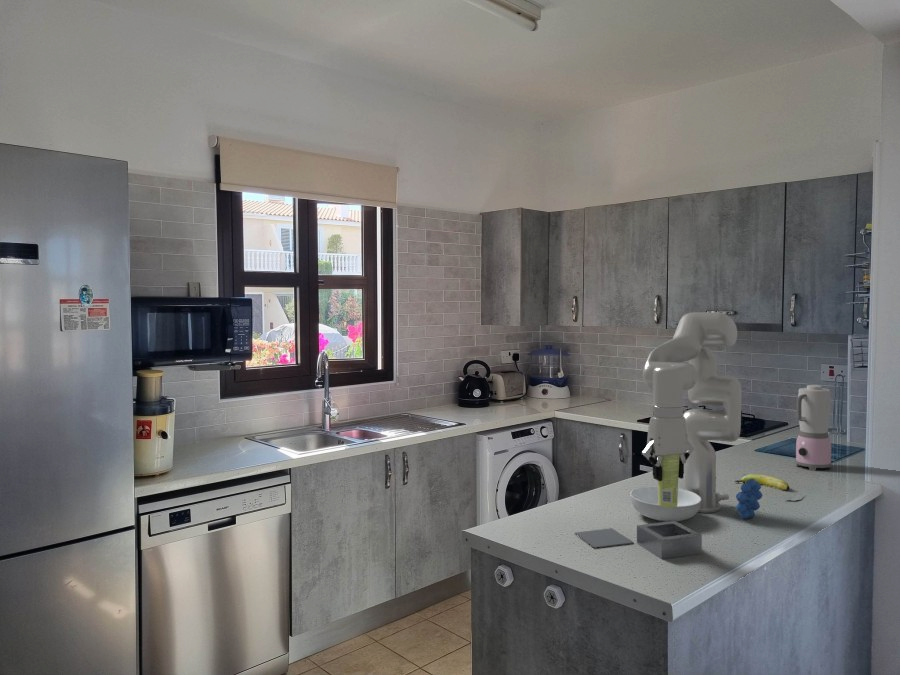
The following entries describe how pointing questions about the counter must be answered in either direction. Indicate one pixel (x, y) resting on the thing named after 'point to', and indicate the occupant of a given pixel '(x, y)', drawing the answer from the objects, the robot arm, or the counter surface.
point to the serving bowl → (649, 507)
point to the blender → (813, 427)
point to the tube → (669, 481)
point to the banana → (766, 481)
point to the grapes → (748, 499)
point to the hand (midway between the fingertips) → (668, 477)
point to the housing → (669, 539)
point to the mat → (604, 538)
